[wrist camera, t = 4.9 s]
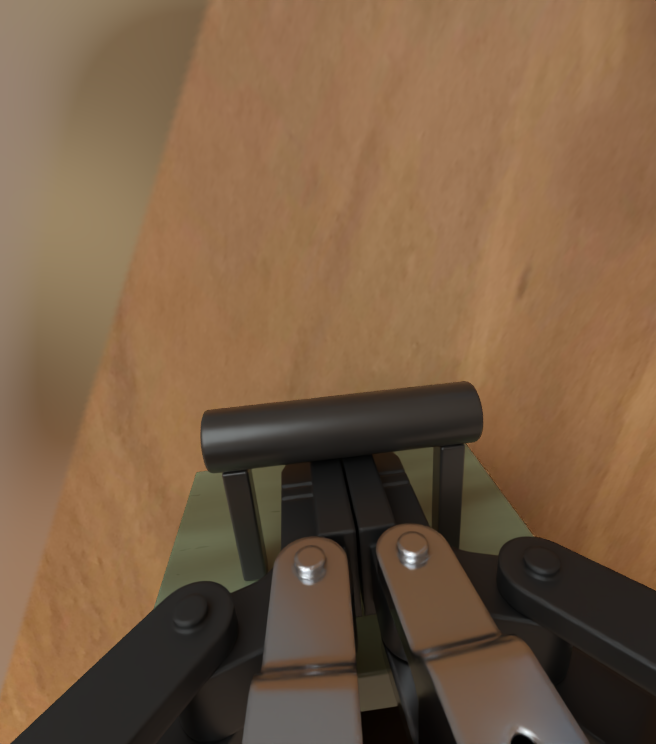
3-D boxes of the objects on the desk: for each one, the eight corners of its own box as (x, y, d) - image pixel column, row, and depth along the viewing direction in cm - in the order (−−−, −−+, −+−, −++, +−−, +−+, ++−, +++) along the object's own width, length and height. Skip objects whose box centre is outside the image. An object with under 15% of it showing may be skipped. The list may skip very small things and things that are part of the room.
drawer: (166, 348, 14) (35, 521, 6) (470, 317, 14) (663, 443, 7) (247, 689, 20) (228, 961, 13) (451, 658, 21) (540, 902, 14)
